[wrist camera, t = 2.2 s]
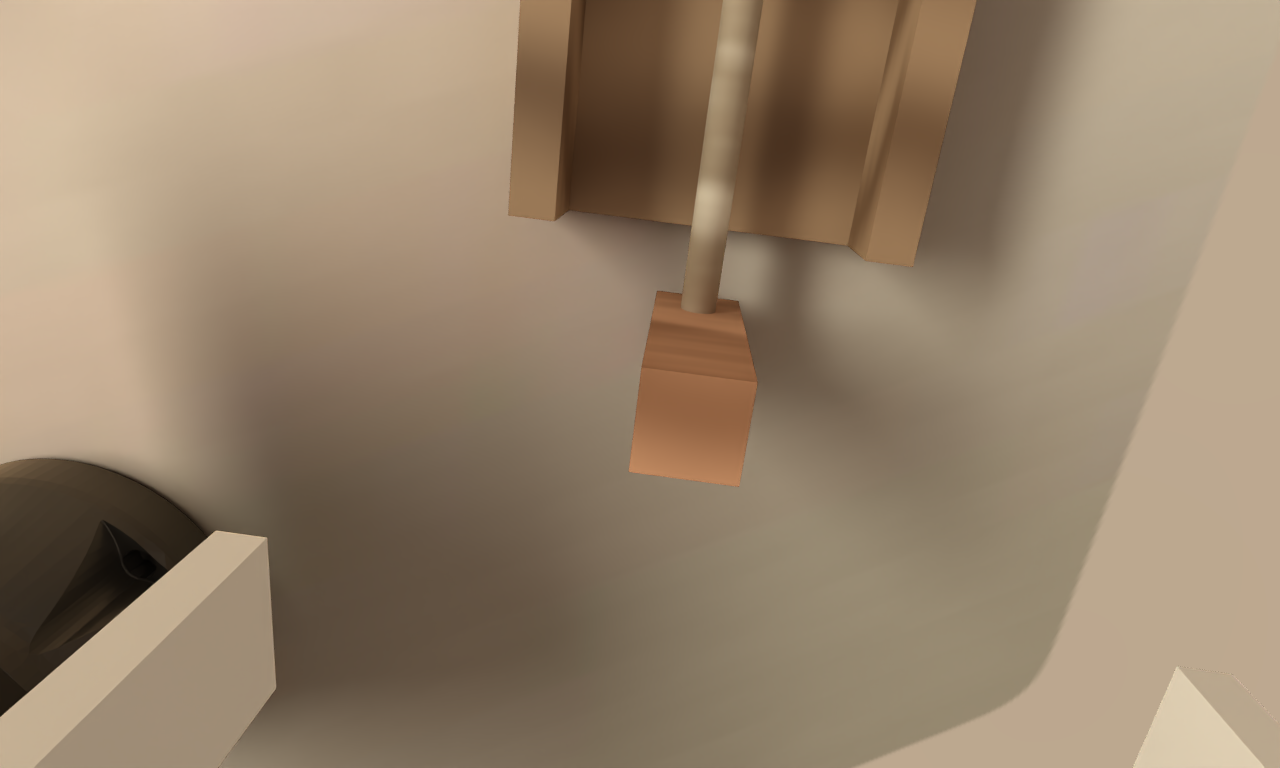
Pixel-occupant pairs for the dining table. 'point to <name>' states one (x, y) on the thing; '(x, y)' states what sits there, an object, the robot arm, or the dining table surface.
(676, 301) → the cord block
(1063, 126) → the dining table surface
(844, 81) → the tray
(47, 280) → the dining table surface
